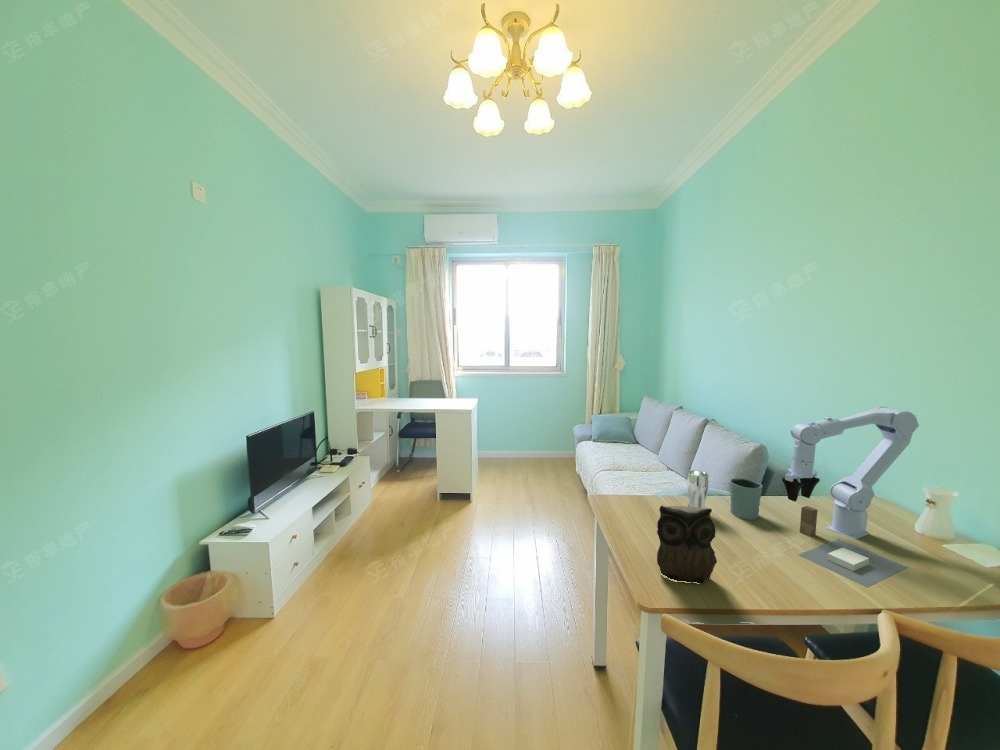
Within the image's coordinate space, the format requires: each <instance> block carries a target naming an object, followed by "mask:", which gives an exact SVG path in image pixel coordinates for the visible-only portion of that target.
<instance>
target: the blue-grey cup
mask: <svg viewBox="0 0 1000 750" xmlns="http://www.w3.org/2000/svg"><path fill="white" fill-rule="evenodd" d="M763 486H764V485H763V484H761V483H760V482H758V481H755V480H751V479H746V478H742V477H741V478H739V477H736V478H735V477H734V478H731V479H730V480H729V494H730V513H731V515H733V516H735V517H737V518H739V519H743V520H747V521H750V520H751V521H754V520H757V519H758V518H759V513H760V505H761V498H762V493H763Z"/></svg>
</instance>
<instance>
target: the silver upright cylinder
mask: <svg viewBox="0 0 1000 750" xmlns="http://www.w3.org/2000/svg"><path fill="white" fill-rule="evenodd" d="M686 481H687V482H686V487H687V488H686V489H687V495H688V504H687V506H691V507H698V508H706V507H705V506H706V505H705V503H706V499H707V495H708V493H709V492H708V491H709V485H710V484H709V474H708V473H707V472H705V471H701V470H696V469H694V470H693V469H692V470H689V471H688V474H687V480H686Z"/></svg>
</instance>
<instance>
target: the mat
mask: <svg viewBox="0 0 1000 750" xmlns="http://www.w3.org/2000/svg"><path fill="white" fill-rule="evenodd" d="M840 548H845V549H848V550H850V551H853V552H855V553H857V554H860V555H862V556H865V557H867V558H869V563H868V565H867V566H865V567H863V568H860V569H858V570H856V571H854V572H853V571H850V570H848V569H846V568H844V567H842V566H839V565H837V564H835V563H833V562H831V561H828V560H827V556H828V553H830V552H833V551H835V550H838V549H840ZM797 556H799V557H801V558H804V559H806V560H808V561H810V562H812V563H814V564H816V565H818V566H821V567H823V568H825V569H826V570H829V571H830V572H831V571H832V572H834V573H835V574H838V575H840V576H842V577H845V578H846V579H848V580H850V581H853V582H855V583H857V584H859V585H861V586H862V587H865V588H869V587H871V586H873V585H875V584H877V583H879V582H881V581H883V580H886V579H888V578H889V577H892V576H893V575H895V574H898V573H901V572H902V571H904V570H905V569H906V570H907V569H908V568H909V566H906V565H904V564H901V563H899V562H896V561H894V560H892V559H890V558H886V557H884V556H881V555H879V554H876V553H874V552H871V551H869V550H867V549H864V548H861V547H859V546H856V545H854V544H852V543H849V542H846V541H844V540H843V539H842V540H841V539H839V538H838V539H837V540H832V541H829V542H828V543H824V544H823V545H820V546H817V547H815V548H812V549H809V550H807V551H806V550H805V551H804V552H801V553H798V554H797Z"/></svg>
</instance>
